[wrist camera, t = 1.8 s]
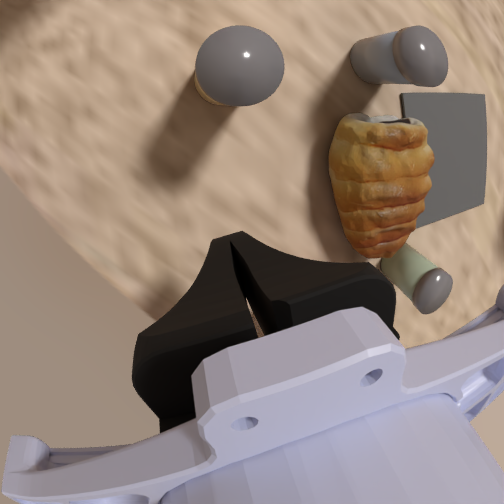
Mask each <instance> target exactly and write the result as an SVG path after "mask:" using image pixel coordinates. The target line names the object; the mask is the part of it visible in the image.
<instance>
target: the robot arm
mask: <svg viewBox="0 0 504 504" xmlns="http://www.w3.org/2000/svg"><path fill="white" fill-rule="evenodd" d="M246 298H247V300H248V302H249V304H250V306H251V309H252V311H253V313H254V315H255V317H256V319H257V321H258V323H259V325H260V327H261V329H262V331H263V333H264V335H265V336H264V337H260V338H258V336H257V332H256V329H255V326H254V323H253V320H252V317H251V314H250V311H249V308H248V305H247V300H246ZM395 306H396V292H395V289H394V287H393V284H392V283H391V282H390V281H389V280H388V279H387V278H386V277H385V276H384V275H383V274H382V273H381V272H380V271H379V270H378V269H376V268H375V267H374V266H373V265H372V264H370V263H369V262H362V263H333V262H322V261H315V260H310V259H304V258H300V257H296V256H293V255H290V254H286V253H284V252H281V251H278V250H276V249H274V248H271V247H269V246H267V245H265V244H263V243H262V242H260V241H258V240H256V239H255V238H253V237H252V236H250V235H248V234H247V233H245V232H243V231H240V232H236V233H233V234H230V235H226V236H223V237H220V238H216V239H213V240H212V241H211V243H210V248H209V251H208V254H207V257H206V259H205V262H204V264H203V266H202V268H201V270H200V272H199V274H198V276H197V278H196V280H195V281H194V283H193V284H192V286H191V287H190V289H189V290H188V291H187V293H186V294H185V295H184V296H183V297H182V298H181V299H180V300H179V302H178V303H177V304H176V305H175V306H174V307H173V308H172V309H171V310H170V311H169V312H167V313H166V314H165V315H164V316H163V317H162V318H160V319H159V320H158V321H157V322H155V323H154V324H152V325H151V326H149V327H148V328H147V329H145V330H144V331H142V332H141V333H139V334H138V337H137V341H136V345H135V351H134V358H133V369H132V382H133V386H134V388H135V390H136V392H137V393H138V395H139V396H140V397H141V398H142V399H143V401H144V402H145V403H146V404H147V405H148V406H149V408H151V410H152V411H153V412H154V413H155V414H156V415H157V417H158V418H159V422H160V434H158V435H155V436H153V437H150V438H147V439H145V440H142V441H139V442H137V443H134V444H128V445H119V446H106V447H90V448H50V447H49V446H48V445H47V444H45V443H44V442H43V441H42V440H40V439H38V438H36V437H34V436H25V435H12V436H11V440H10V444H9V449H8V453H7V459H6V464H5V469H4V476H3V482H2V489H1V492H2V493H3V494H4V495H5V496H7V497H9V498H10V499H12V500H14V501H16V502H18V503H20V504H504V472H503V471H502V469H501V468H500V466H499V465H498V463H497V461H496V460H495V458H494V457H493V455H492V454H491V453H490V451H489V449H488V448H487V447H486V445H485V444H484V442H483V441H482V439H481V438H480V436H479V435H478V434H477V432H476V431H475V429H474V428H473V427H472V425H471V424H470V421H471V420H472V419H474V418H475V417H476V416H477V415H478V414H479V413H480V412H481V411H483V410H484V409H485V408H486V407H487V406H488V405H489V404H490V403H491V402H492V401H493V400H494V399H495V398H496V397H498V396H499V395H500V394H501V393H502V392H503V391H504V285H503V286H502V287H501V289H500V290H499V293H498V295H497V298H496V304H495V305H494V306H492V307H491V308H489V309H488V310H487V311H485V312H484V313H482V314H481V315H479V316H478V317H476V318H475V319H473V320H472V321H470V322H469V323H467V324H466V325H464V326H463V327H461V328H460V329H458V330H456V331H455V332H453V333H452V334H450V335H448V336H447V337H445V338H443V339H442V340H438V341H435V342H431V343H427V344H423V345H419V346H415V347H411V348H407V349H405V348H404V347H403V345H402V344H401V343H400V342H399V338H400V336H399V334H398V332H397V331H396V330H395V329H394V328H393V322H394V314H395Z"/></svg>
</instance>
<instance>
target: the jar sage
mask: <svg viewBox="0 0 504 504" xmlns="http://www.w3.org/2000/svg"><path fill="white" fill-rule="evenodd" d="M381 270H382V272H383V273H384V274H385V275H386V276H387V277H388V278H389V279H390V280H391V281H392V282H393V283H394V284H395V285H396V286H397V287H398V288H399V289H400V290H401V291H402V292H403V293H404V294H405V295H406V296H407V297H408V298H409V299H410V300H411V301H412V302H413V305H414V306H415V307H416V308H417V309H418V310H419V311H420V312H421V313H422V314H430V313H432V312H434V311H436V310H437V309H438V308H439V307H440V306H441V305H442V304H443V303H444V302H445V301H446V299H447V298H448V296H449V294H450V292H451V289H452V284H453V280H452V277H451V276H450V275H449V274H448V273H447V272H446V271H444V270H443V269H442V268H438V267H437V266H436V265H434V264H433V263H432V262H431V261H429V260H428V259H427V258H425V257H424V256H423V255H422V254H420V253H419V252H418V251H416V250H415V249H414V248H412V247H411V246H410V245H408V244H407V243H405V244H404V245H403V246H402V248H401V249H399V250H398V251H397V252H396V253H395V254H394V255H393V257H392V258H382V262H381Z"/></svg>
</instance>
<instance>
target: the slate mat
mask: <svg viewBox="0 0 504 504" xmlns="http://www.w3.org/2000/svg"><path fill="white" fill-rule="evenodd" d="M401 97H402V105H403V114H404V118H409V117H410V118H414V119H417V120H419V121H421V122H422V123H423V124H424V126H425V127H426V128H427V130H428V134H427V144H428V145H429V146H430V148H431V149H432V151H433V153H434V157H435V160H434V164H433V166H432V167H431V168H430V170H429V172H428V175H429V177H430V179H431V182H432V187H431V189H430V190H429V191H428V194H427V195H426V197H425V199H424V203H425V210H424V211H423V212H422V213H421V214H420V215H419V216H418V217H417V220H416V228H419V227H421V226H424V225H427V224H430V223H433V222H435V221H438V220H441V219H444V218H446V217H449V216H452V215H455V214H457V213H460V212H463V211H465V210H468V209H471V208H473V207H476V206H479V205H481V204H484V197H485V185H486V167H487V121H486V104H485V95H483V94H467V93H401Z"/></svg>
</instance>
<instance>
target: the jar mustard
mask: <svg viewBox="0 0 504 504" xmlns="http://www.w3.org/2000/svg"><path fill="white" fill-rule="evenodd" d="M283 74H284V58H283V55H282V52H281V50H280V48H279V46H278V45H277V43H276V42H275V41H274V40H273V39H272V38H271V37H270V36H269V35H267V34H266V33H265V32H263V31H261V30H259V29H256V28H253V27H249V26H230V27H226V28H223V29H220V30H218V31H217V32H215V33H213V34H212V35H211V36H209V37H208V38H207V39H206V40H205V42H204V43H203V44H202V46H201V47H200V49H199V52H198V55H197V58H196V63H195V75H194V83H195V87H196V89H197V91H198V93H199V94H200V96H201V97H202V98H203V99H205V100H206V101H208V102H210V103H212V104H215V105H228V106H249V105H253V104H257V103H259V102H262V101H263V100H265V99H267V98H268V97H269V96H271V95H272V94H273V93H274V92H275V91H276V89H277V88H278V86H279V85H280V83H281V81H282V78H283Z"/></svg>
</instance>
